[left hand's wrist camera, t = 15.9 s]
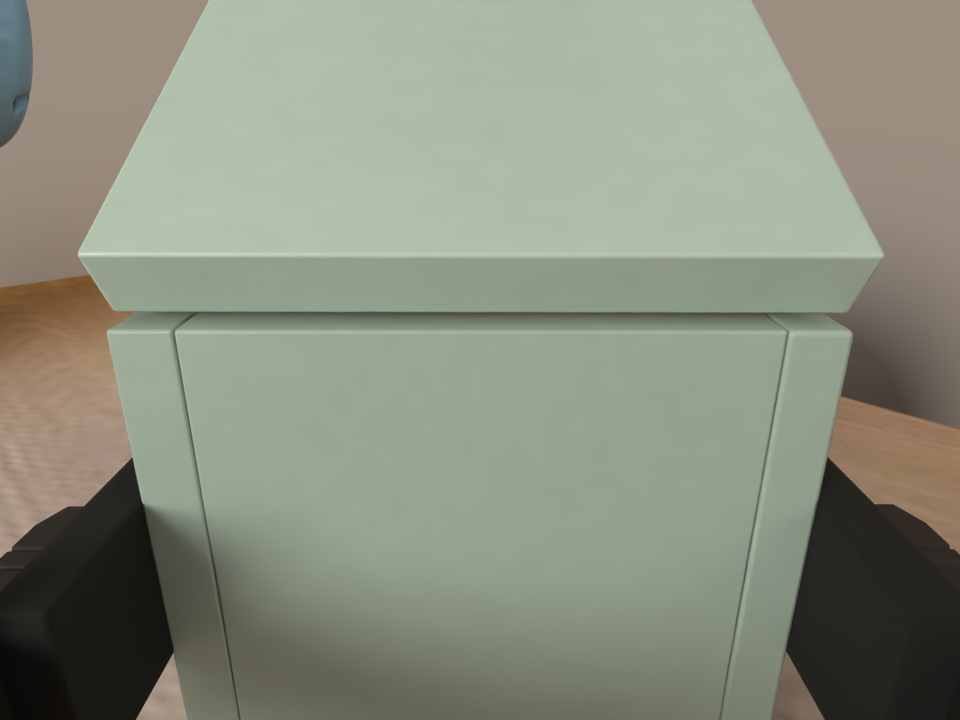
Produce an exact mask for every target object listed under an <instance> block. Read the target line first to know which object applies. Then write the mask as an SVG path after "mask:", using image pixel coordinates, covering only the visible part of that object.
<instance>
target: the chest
mask: <svg viewBox="0 0 960 720" xmlns="http://www.w3.org/2000/svg"><path fill="white" fill-rule="evenodd" d="M107 337H108V342H109V347H110V352H111V357H112V361H113V366H114V371H115V376H116V380H117V385H118V390H119V395H120V400H121V404H122V409H123V414H124V419H125V423H126V428H127V433H128V438H129V443H130V447H131V452H132V457H133V462H134V466H135V471H136V476H137V481H138V486H139V490H140V495H141V500H142V505H143V509H144V514H145V519H146V524H147V528H148V533H149V538H150V543H151V547H152V552H153V557H154V562H155V566H156V571H157V576H158V581H159V585H160V590H161V595H162V600H163V604H164V609H165V614H166V618H167V623H168V628H169V633H170V637H171V642H172V647H173V653H174V658H175V662H176V667H177V672H178V677H179V681H180V686H181V691H182V696H183V701H184V705H185V710H186V715H187V720H771V718H772V714H773V709H774V704H775V700H776V695H777V690H778V686H779V681H780V676H781V672H782V667H783V662H784V658H785V653H786V648H787V644H788V639H789V634H790V630H791V625H792V620H793V616H794V611H795V606H796V602H797V597H798V592H799V588H800V583H801V578H802V574H803V569H804V564H805V559H806V555H807V550H808V545H809V541H810V536H811V531H812V526H813V522H814V517H815V512H816V508H817V503H818V499H819V494H820V489H821V485H822V480H823V475H824V471H825V466H826V461H827V457H828V452H829V447H830V443H831V438H832V433H833V429H834V424H835V419H836V415H837V410H838V405H839V401H840V396H841V391H842V387H843V382H844V377H845V373H846V368H847V363H848V359H849V354H850V349H851V345H852V340H853V333H852V331H851V330H849V329H847V328H846V327H844V326H842V325H841V324H839V323H838V322H836V321H834V320H833V319H831V318H829V317H828V316H826V315H824V314H823V313H517V312H136V313H135V314H133V315H131V316H130V317H128V318H127V319H125V320H123V321H122V322H120V323H118V324H117V325H115V326H113V327H112V328H110V329H108V330H107Z"/></svg>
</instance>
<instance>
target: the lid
mask: <svg viewBox="0 0 960 720" xmlns="http://www.w3.org/2000/svg"><path fill="white" fill-rule="evenodd" d="M78 257H79V259H80V260H81V262H82V263H83V265H84V266H85V268H86V269H87V271H88V272H89V274H90V275H91V277H92V279H93V280H94V282H95V283H96V285H97V286H98V288H99V289H100V291H101V292H102V294H103V295H104V297H105V298H106V300H107V301H108V303H109V304H110V306H111V307H112V309H113V310H114V311H117V312H517V313H846V312H848V311H849V310H850V308H851V307H852V305H853V304H854V302H855V301H856V299H857V298H858V296H859V295H860V293H861V292H862V290H863V289H864V287H865V286H866V284H867V283H868V281H869V280H870V278H871V277H872V275H873V274H874V272H875V271H876V269H877V268H878V266H879V265H880V263H881V262H882V260H883V259H884V252H883V250H882V248H881V247H880V245H879V243H878V241H877V239H876V237H875V235H874V233H873V231H872V229H871V227H870V226H869V224H868V222H867V220H866V218H865V216H864V214H863V212H862V210H861V208H860V206H859V205H858V203H857V201H856V199H855V197H854V195H853V193H852V191H851V189H850V187H849V185H848V183H847V182H846V180H845V178H844V176H843V174H842V172H841V170H840V168H839V166H838V164H837V163H836V161H835V159H834V157H833V155H832V153H831V151H830V149H829V147H828V145H827V143H826V141H825V140H824V138H823V136H822V134H821V132H820V130H819V128H818V126H817V124H816V122H815V120H814V119H813V117H812V115H811V113H810V111H809V109H808V107H807V105H806V103H805V101H804V100H803V98H802V96H801V94H800V92H799V90H798V88H797V86H796V84H795V82H794V80H793V79H792V77H791V75H790V73H789V71H788V69H787V67H786V65H785V63H784V61H783V59H782V57H781V56H780V54H779V52H778V50H777V48H776V46H775V44H774V42H773V40H772V38H771V37H770V34H769V33H768V31H767V29H766V27H765V25H764V23H763V21H762V19H761V17H760V15H759V14H758V12H757V10H756V8H755V6H754V4H753V2H752V0H209V2H208V4H207V6H206V7H205V9H204V11H203V13H202V15H201V17H200V19H199V21H198V23H197V25H196V27H195V29H194V31H193V33H192V34H191V36H190V38H189V40H188V42H187V44H186V46H185V48H184V50H183V52H182V53H181V55H180V57H179V59H178V61H177V63H176V65H175V67H174V69H173V71H172V73H171V75H170V77H169V78H168V80H167V82H166V84H165V86H164V88H163V90H162V92H161V94H160V96H159V98H158V100H157V101H156V103H155V105H154V107H153V109H152V111H151V113H150V115H149V117H148V119H147V121H146V123H145V124H144V126H143V128H142V130H141V132H140V134H139V136H138V138H137V140H136V142H135V144H134V146H133V148H132V149H131V151H130V153H129V155H128V157H127V159H126V161H125V163H124V165H123V167H122V169H121V171H120V172H119V174H118V176H117V178H116V180H115V182H114V184H113V186H112V188H111V190H110V192H109V194H108V195H107V197H106V199H105V201H104V203H103V205H102V207H101V209H100V211H99V213H98V215H97V217H96V219H95V220H94V222H93V224H92V226H91V228H90V230H89V232H88V234H87V236H86V238H85V240H84V242H83V243H82V245H81V247H80V249H79V251H78Z"/></svg>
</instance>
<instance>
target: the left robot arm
mask: <svg viewBox="0 0 960 720" xmlns="http://www.w3.org/2000/svg"><path fill="white" fill-rule="evenodd" d="M786 651H787V653H788V655H789V657H790V658H791V660H792V662H793V664H794V665H795V667H796V669H797V671H798V673H799V674H800V676H801V678H802V680H803V682H804V683H805V685H806V687H807V689H808V690H809V692H810V694H811V696H812V698H813V699H814V701H815V703H816V705H817V706H818V708H819V710H820V712H821V714H822V715H823V717H824V719H825V720H960V555H959V554H958V553H957V552H956V551H955V550H950V548H949V544H948V543H947V542H946V541H944V540H943V539H942V538H941V537H940V536H939V535H938V534H937V533H936V532H935V531H934V530H933V529H932V528H931V527H929V526H928V525H927V524H926V523H925V522H923V521H921V520H919V519H918V518H916V517H914V516H912V515H911V514H909V513H907V512H905V511H904V510H902V509H900V508H898V507H897V506H895V505H893V504H874V503H873V502H872V501H871V500H870V499H869V498H868V497H867V496H866V495H865V494H864V493H863V492H862V491H861V490H860V489H859V488H858V487H857V486H856V485H855V484H854V483H853V482H852V481H851V480H850V479H849V478H848V477H847V476H846V475H845V474H844V473H843V472H842V471H841V470H840V469H839V468H838V467H837V466H836V465H835V464H834V463H833V462H832V461H831V460H830V459H829V458H828V457H827V461H826V466H825V471H824V475H823V480H822V485H821V489H820V494H819V499H818V503H817V508H816V512H815V517H814V522H813V526H812V531H811V536H810V541H809V545H808V550H807V555H806V559H805V564H804V569H803V574H802V578H801V583H800V588H799V592H798V597H797V602H796V606H795V611H794V616H793V620H792V625H791V630H790V634H789V639H788V644H787V648H786ZM172 654H173V647H172V642H171V637H170V633H169V628H168V623H167V618H166V614H165V609H164V604H163V600H162V595H161V590H160V585H159V581H158V576H157V571H156V566H155V562H154V557H153V552H152V547H151V543H150V538H149V533H148V528H147V524H146V519H145V514H144V509H143V505H142V500H141V495H140V490H139V486H138V481H137V476H136V471H135V466H134V462H133V458H132V459H131V460H130V461H129V462H128V463H127V464H126V465H125V466H124V467H123V468H122V469H121V470H120V471H119V472H118V473H117V474H116V475H115V476H114V477H113V478H112V479H111V480H110V481H109V482H108V483H107V484H106V485H105V486H104V487H103V488H102V489H101V490H100V491H99V492H98V493H97V494H96V495H95V496H94V497H93V498H92V499H91V500H90V501H89V502H88V503H87V504H86V505H85V506H84V507H67V508H65V509H63V510H61V511H60V512H58V513H56V514H54V515H53V516H51V517H49V518H47V519H46V520H44V521H42V522H40V523H39V524H37V525H35V526H34V527H33V528H32V529H31V530H30V531H29V532H28V533H27V534H26V535H25V536H24V537H23V538H21V539H20V540H19V541H18V542H17V543H16V544H15V545H14V546H13V547H12V551H11V552H7V553H6V554H5V555H3V556H2V557H1V558H0V720H136V718H137V716H138V715H139V713H140V711H141V709H142V708H143V706H144V704H145V702H146V700H147V699H148V697H149V695H150V693H151V691H152V690H153V688H154V686H155V684H156V683H157V681H158V679H159V677H160V675H161V674H162V672H163V670H164V668H165V667H166V665H167V663H168V661H169V659H170V658H171V656H172Z"/></svg>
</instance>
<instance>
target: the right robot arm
mask: <svg viewBox="0 0 960 720" xmlns="http://www.w3.org/2000/svg"><path fill="white" fill-rule="evenodd" d="M32 69H33V49H32V35H31V26H30V19H29V13H28V8H27V3H26V0H0V147H2V146H3V145H5V144H6V143H8V142H9V141H10V140H11V139H12V138H13V136H14V135H15V134H16V133H17V131H18V129H19V128H20V126H21V124H22V121H23V119H24V116H25V113H26V111H27V106H28V102H29V94H30V90H31V84H32Z"/></svg>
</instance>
